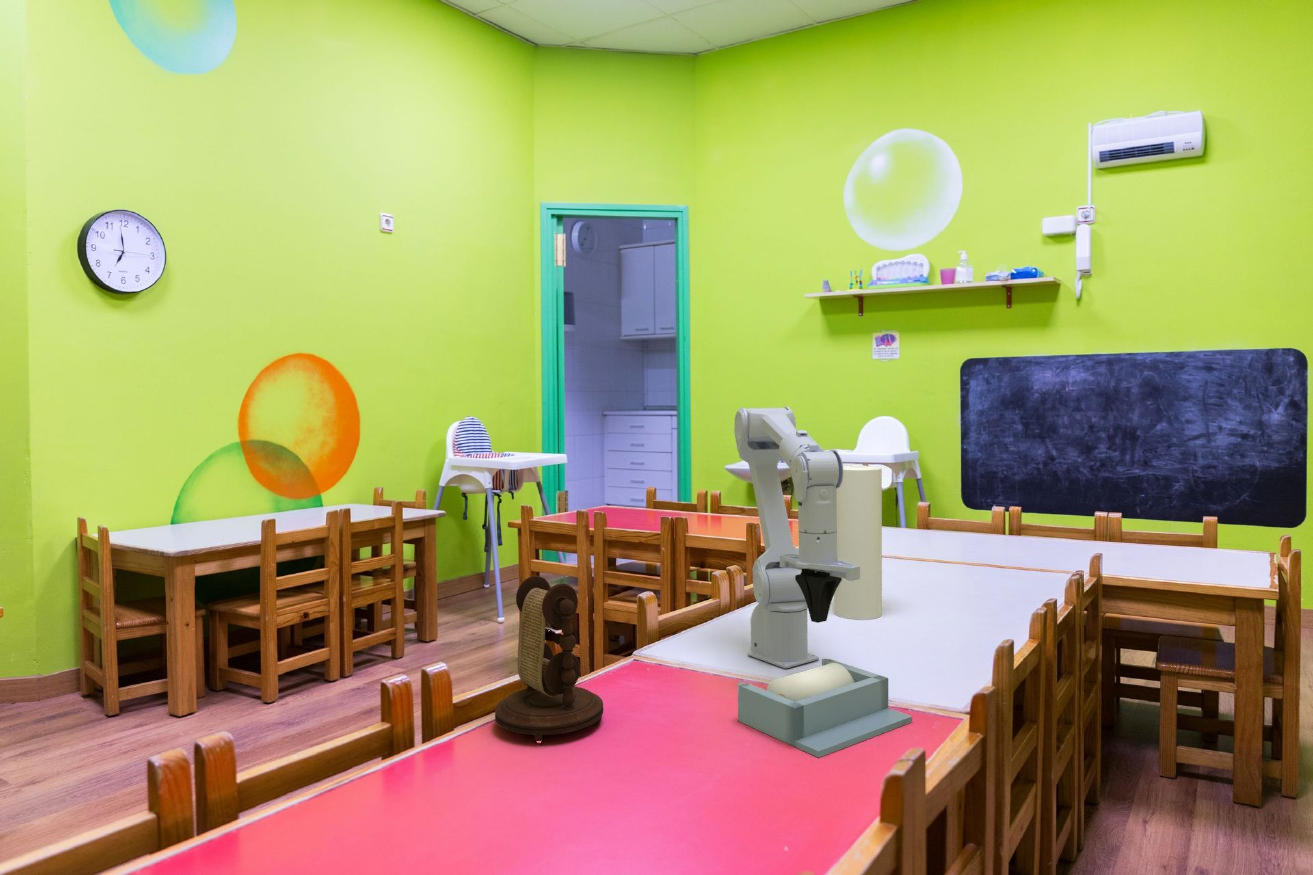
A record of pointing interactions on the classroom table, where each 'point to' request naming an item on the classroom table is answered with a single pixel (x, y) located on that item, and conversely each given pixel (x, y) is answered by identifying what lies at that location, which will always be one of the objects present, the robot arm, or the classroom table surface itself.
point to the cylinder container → (860, 542)
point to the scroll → (547, 666)
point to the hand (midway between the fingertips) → (819, 620)
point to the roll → (811, 682)
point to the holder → (823, 713)
